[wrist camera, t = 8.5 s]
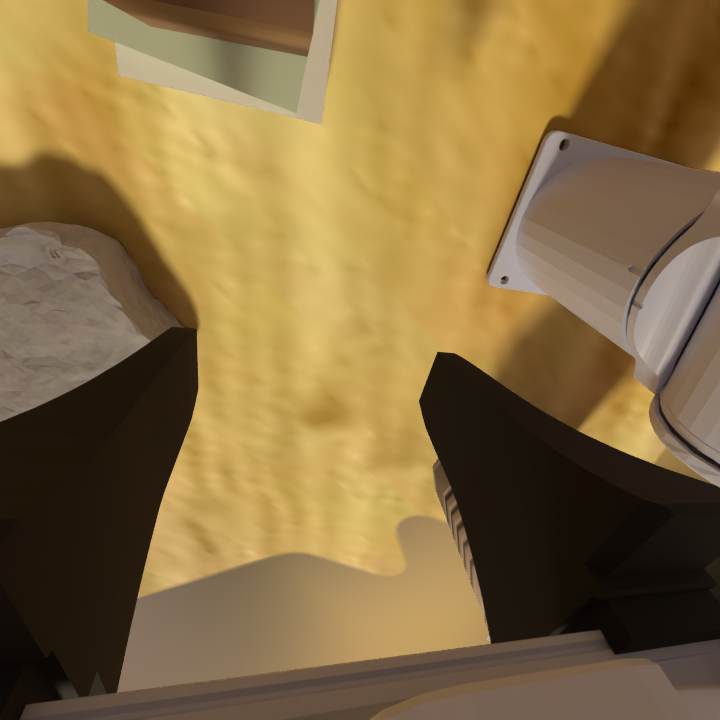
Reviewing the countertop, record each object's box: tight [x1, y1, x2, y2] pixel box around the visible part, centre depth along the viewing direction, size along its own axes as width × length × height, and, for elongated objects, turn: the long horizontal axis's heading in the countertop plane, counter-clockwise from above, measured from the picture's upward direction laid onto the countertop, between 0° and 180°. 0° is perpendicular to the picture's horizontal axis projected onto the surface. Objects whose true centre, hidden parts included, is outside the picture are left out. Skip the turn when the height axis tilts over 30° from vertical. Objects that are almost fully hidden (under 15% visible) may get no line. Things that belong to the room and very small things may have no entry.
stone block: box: [0, 221, 184, 422], centre depth 18 cm, size 12×5×10 cm
